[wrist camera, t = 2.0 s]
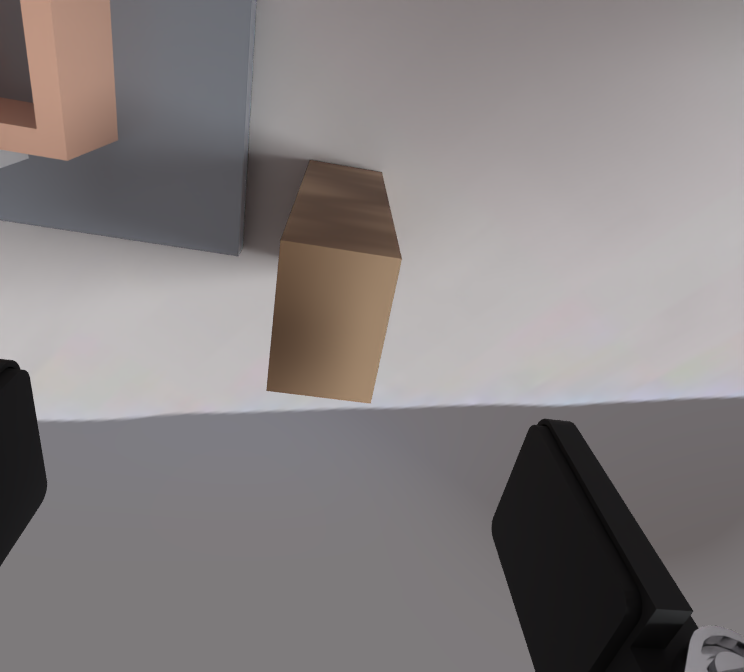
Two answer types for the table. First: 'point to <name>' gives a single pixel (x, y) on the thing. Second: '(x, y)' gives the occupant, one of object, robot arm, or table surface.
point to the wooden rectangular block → (334, 285)
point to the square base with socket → (128, 118)
